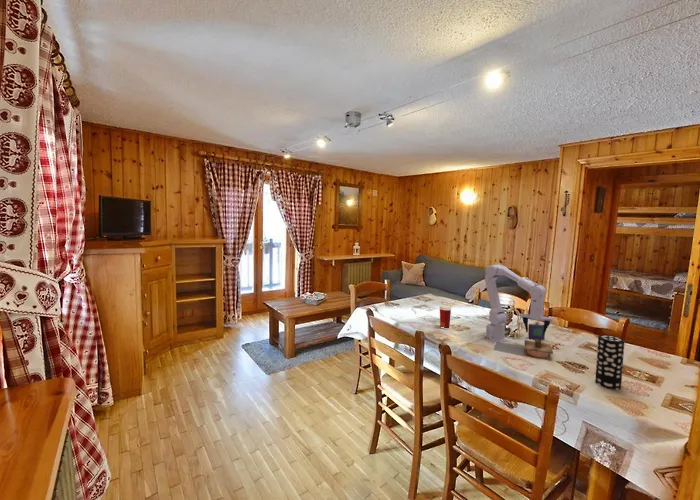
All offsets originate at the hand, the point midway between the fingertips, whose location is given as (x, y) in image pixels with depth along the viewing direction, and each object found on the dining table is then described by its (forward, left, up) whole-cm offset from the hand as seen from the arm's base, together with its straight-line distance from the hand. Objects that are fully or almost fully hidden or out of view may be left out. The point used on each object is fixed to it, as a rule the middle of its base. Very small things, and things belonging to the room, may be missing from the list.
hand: (535, 333), depth 161 cm
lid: (-1, -5, -6) cm, 8 cm away
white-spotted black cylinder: (+10, -35, -10) cm, 37 cm away
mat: (-12, +2, -10) cm, 16 cm away
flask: (+12, +17, -10) cm, 23 cm away
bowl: (-1, -5, -10) cm, 11 cm away
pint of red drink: (-36, +37, -10) cm, 53 cm away
